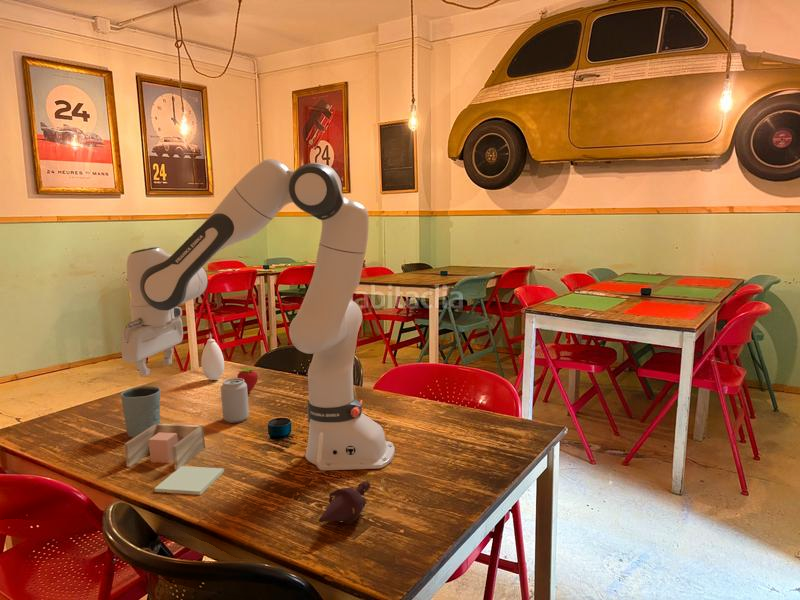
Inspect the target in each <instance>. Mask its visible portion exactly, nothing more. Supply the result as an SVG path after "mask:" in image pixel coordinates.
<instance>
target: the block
mask: <svg viewBox="0 0 800 600" xmlns="http://www.w3.org/2000/svg"><path fill="white" fill-rule="evenodd" d="M176 443H178V438H177V433H161V432H159V433H157V434H156V435H155V436H153V437H152V438H150V439H149V449H150V453H149V457H150V459H149V460H150V463H157V462H161V463H162V464H170V463H171V462H172V460H173V461H174V456H173V446H174V445H175V444H176Z"/></svg>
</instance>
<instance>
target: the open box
mask: <svg viewBox="0 0 800 600" xmlns="http://www.w3.org/2000/svg"><path fill="white" fill-rule="evenodd" d="M204 429H205V428H204V425H196V424H194V425H193V424H176V423H175V424H173V423H172V424H169V423H160V424H154V425H153V426H151V427H150V428H148V429H147V430H145V431H144V432H142V433H140V434H139V435H137V436H136V437H134V438H131V439H130V440H128V441H127V442H125V443H124V455H125V461H126V467H127V468H130V467H132V466H133V465H136V463H138V462H140V461H141V460H142V459H143V458H145V457H146V456H148V455H150V449H149V439H150V438H152V437H153V436H155V435H156V434H157V433H159V432H161V433H177V438H178V443H176V444H175V445H174V446H173V456H174V460H173V464H174V471H176V470H177V469H178V468H180V467H181V466H185V465H186V464H187V463H189V462H190V460H192V459H193V458H194V457H195V456H196V455H198V454H199V453H200V452H202V451H203V449H205V448H206V444H205V430H204Z"/></svg>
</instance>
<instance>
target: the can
mask: <svg viewBox="0 0 800 600" xmlns="http://www.w3.org/2000/svg"><path fill="white" fill-rule="evenodd" d="M248 393H249V392H247V384H246V383H245V382H244V379H242V378H237V377H235V378H234V377H231V378H228V379H225V380H223V381H222V385H221V386H220V395H221V409H222V419H223V420H225V422H226V423H231V424H236V423H237V424H238V423H241V422H244V421H246V420H247V419H248V418H249V416H250V407H249V397H248V396H249V395H248Z"/></svg>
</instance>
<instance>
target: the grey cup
mask: <svg viewBox="0 0 800 600" xmlns="http://www.w3.org/2000/svg"><path fill="white" fill-rule="evenodd" d="M120 399H121V404H122V410H123V415H124V416H123V418H124V422H125V429H126V435H127V436H128V437H129V438H131V437H132V438H131V439H133V438H134V437H136V436H137V435H139V434H140V433H142V432H144V431H145V430H147V429H148V428H150V427H151V426H153V425H154V424H161V388H160V387H157V386H153V385H152V386H150V385H147V386H136V387H133V388H128V389H125V390H124V391H122V392H121V393H120Z"/></svg>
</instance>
